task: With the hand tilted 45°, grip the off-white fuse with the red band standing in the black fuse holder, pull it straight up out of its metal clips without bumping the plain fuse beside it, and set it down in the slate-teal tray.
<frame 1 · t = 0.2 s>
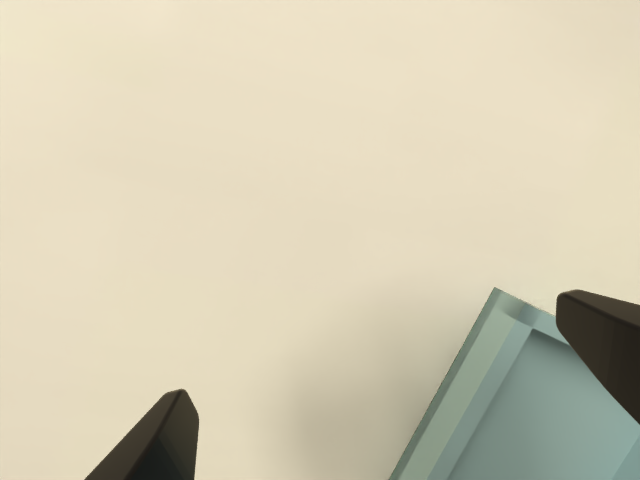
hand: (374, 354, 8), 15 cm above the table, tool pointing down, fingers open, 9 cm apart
tray: (527, 434, 26), on the table
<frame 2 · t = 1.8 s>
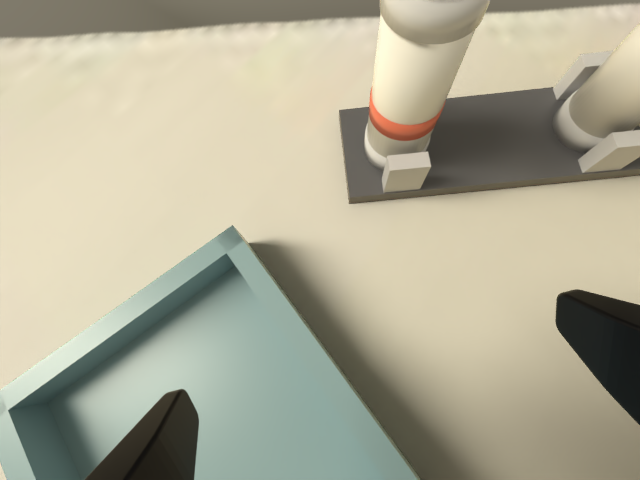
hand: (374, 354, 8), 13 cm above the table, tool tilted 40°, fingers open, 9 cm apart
fuse holder: (482, 145, 25), on the table
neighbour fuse: (584, 127, 23), point 1 cm above the table, touching fuse holder
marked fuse: (394, 146, 24), point 1 cm above the table, touching fuse holder
tray: (219, 441, 20), on the table
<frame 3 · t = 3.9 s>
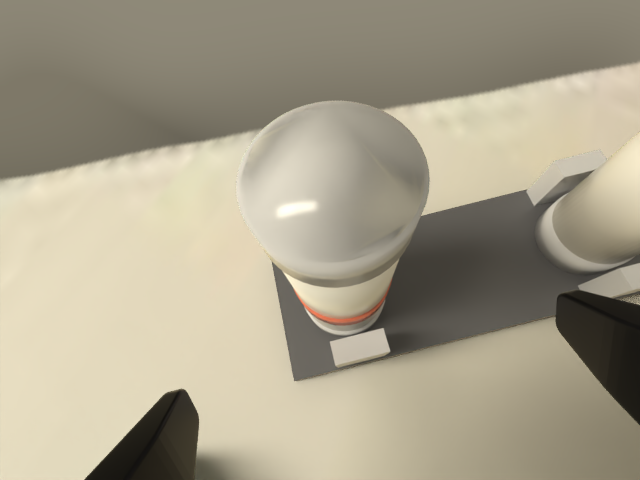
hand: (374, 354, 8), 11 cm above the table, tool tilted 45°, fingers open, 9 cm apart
fuse holder: (455, 273, 19), on the table
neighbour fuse: (576, 238, 19), point 1 cm above the table, touching fuse holder
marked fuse: (344, 297, 19), point 1 cm above the table, touching fuse holder
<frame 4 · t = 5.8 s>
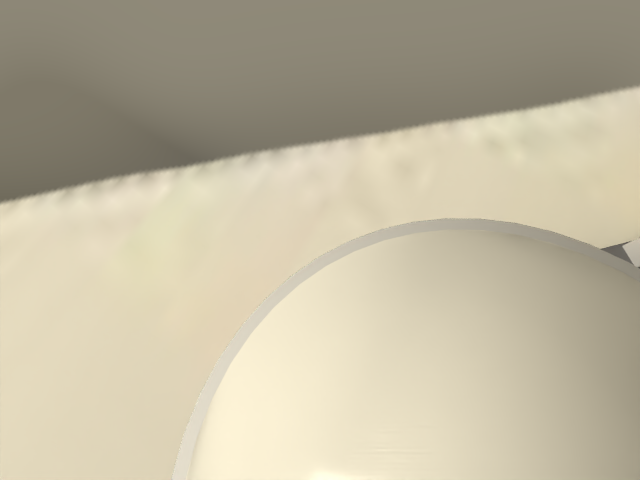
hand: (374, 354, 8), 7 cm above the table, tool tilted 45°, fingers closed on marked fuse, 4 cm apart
fuse holder: (526, 360, 14), on the table
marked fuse: (375, 400, 13), point 1 cm above the table, touching fuse holder, gripper
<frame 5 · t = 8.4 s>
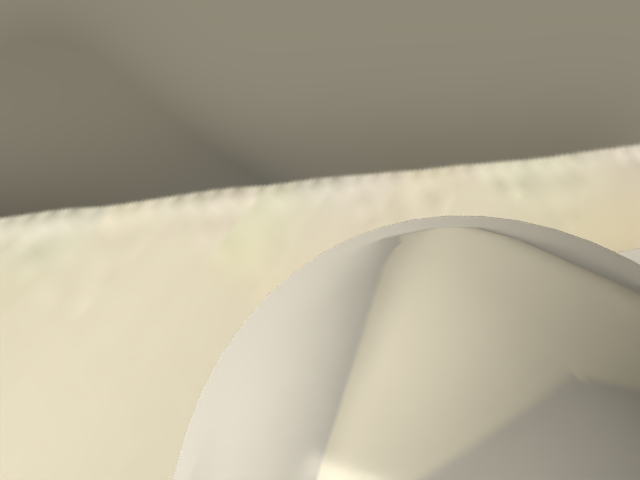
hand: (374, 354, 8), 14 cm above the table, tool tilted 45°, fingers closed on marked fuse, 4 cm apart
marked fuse: (375, 400, 13), point 8 cm above the table, touching gripper
when the fingers open (9 cm above the table, at t = 11.2 s): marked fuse drops 1 cm, resting on tray.
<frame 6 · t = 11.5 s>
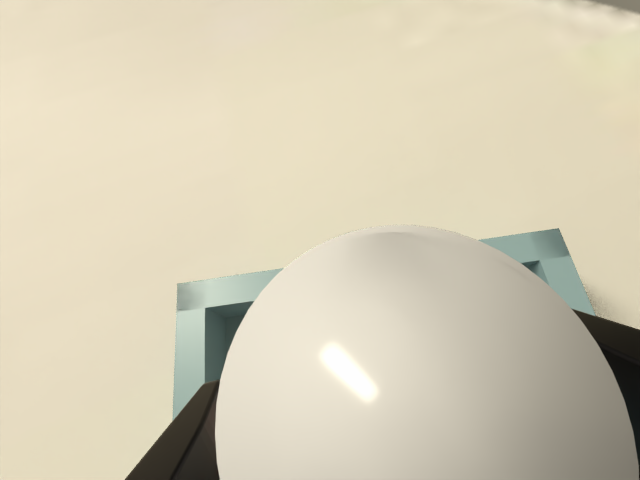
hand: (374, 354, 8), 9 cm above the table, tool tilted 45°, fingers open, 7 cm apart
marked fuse: (373, 398, 14), point 1 cm above the table, touching tray
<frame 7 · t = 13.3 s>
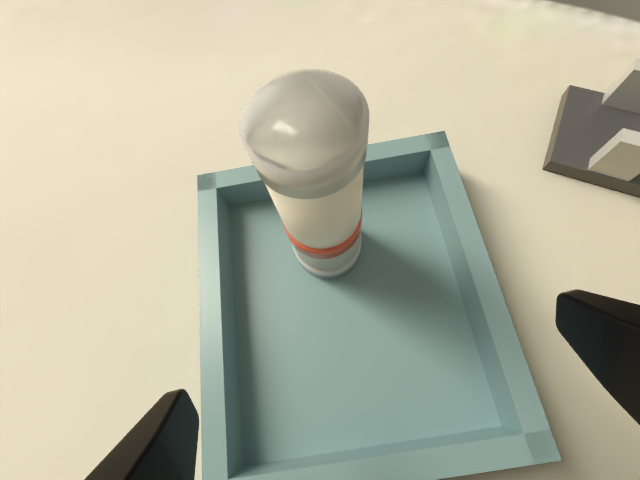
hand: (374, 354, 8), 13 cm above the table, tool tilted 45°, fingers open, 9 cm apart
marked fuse: (328, 247, 22), point 1 cm above the table, touching tray
tray: (345, 302, 22), on the table
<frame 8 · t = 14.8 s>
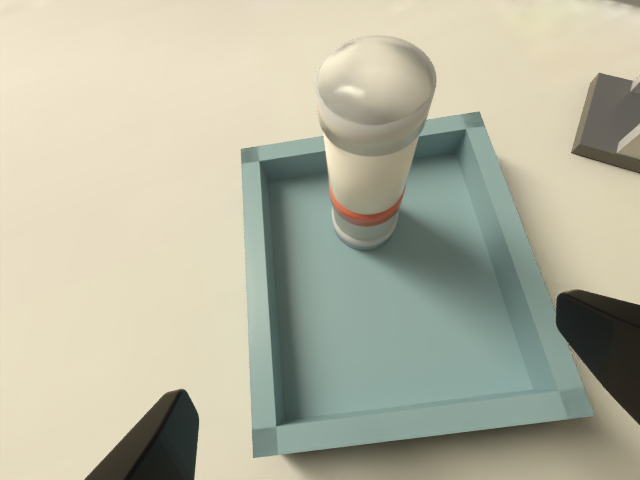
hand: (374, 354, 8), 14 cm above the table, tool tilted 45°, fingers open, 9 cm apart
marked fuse: (364, 221, 23), point 1 cm above the table, touching tray
tray: (379, 274, 23), on the table
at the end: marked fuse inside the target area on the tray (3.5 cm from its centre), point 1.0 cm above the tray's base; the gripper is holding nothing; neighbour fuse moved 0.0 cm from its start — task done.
